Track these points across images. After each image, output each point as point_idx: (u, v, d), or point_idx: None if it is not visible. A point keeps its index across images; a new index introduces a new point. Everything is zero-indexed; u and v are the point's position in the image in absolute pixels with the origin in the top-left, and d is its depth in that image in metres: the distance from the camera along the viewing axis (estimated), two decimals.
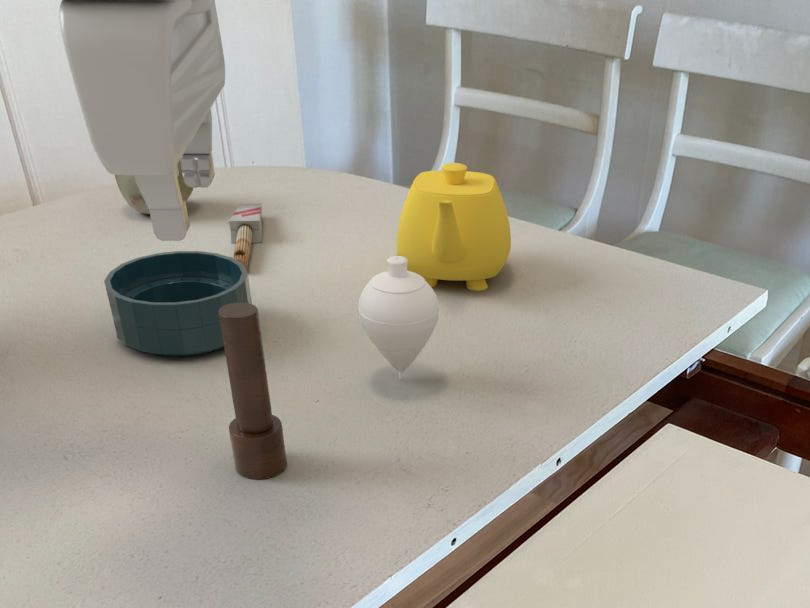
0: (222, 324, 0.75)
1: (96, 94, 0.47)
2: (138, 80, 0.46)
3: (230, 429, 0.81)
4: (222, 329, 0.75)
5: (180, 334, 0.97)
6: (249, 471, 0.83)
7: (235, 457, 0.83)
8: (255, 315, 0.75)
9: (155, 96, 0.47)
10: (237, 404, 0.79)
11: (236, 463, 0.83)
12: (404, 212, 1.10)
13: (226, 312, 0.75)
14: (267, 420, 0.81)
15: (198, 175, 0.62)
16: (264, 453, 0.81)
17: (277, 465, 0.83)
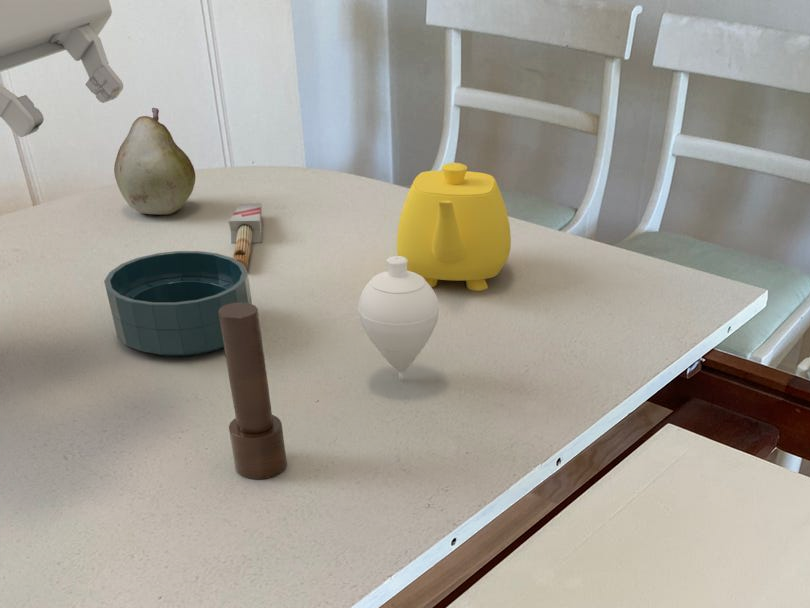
0: (222, 324, 0.75)
1: None
2: None
3: (230, 429, 0.81)
4: (222, 329, 0.75)
5: (180, 334, 0.97)
6: (249, 471, 0.83)
7: (235, 457, 0.83)
8: (255, 315, 0.75)
9: None
10: (237, 404, 0.79)
11: (236, 463, 0.83)
12: (404, 212, 1.10)
13: (226, 312, 0.75)
14: (267, 420, 0.81)
15: (102, 88, 0.73)
16: (264, 453, 0.81)
17: (277, 465, 0.83)
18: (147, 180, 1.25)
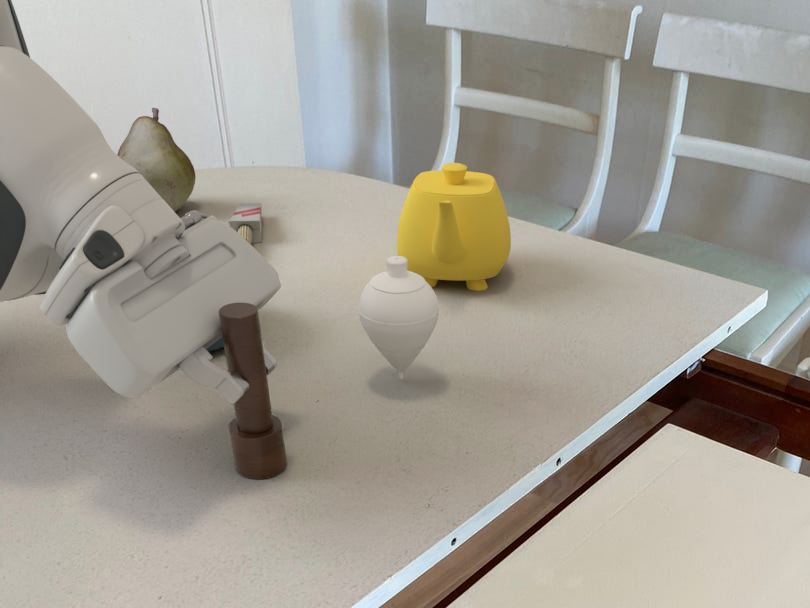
0: (222, 324, 0.75)
1: (94, 360, 0.71)
2: (101, 337, 0.69)
3: (230, 429, 0.81)
4: (222, 329, 0.75)
5: None
6: (249, 471, 0.83)
7: (235, 457, 0.83)
8: (255, 315, 0.75)
9: (111, 340, 0.69)
10: (237, 404, 0.79)
11: (236, 463, 0.83)
12: (404, 212, 1.10)
13: (226, 312, 0.75)
14: (267, 420, 0.81)
15: None
16: (264, 453, 0.81)
17: (277, 465, 0.83)
18: (147, 180, 1.25)
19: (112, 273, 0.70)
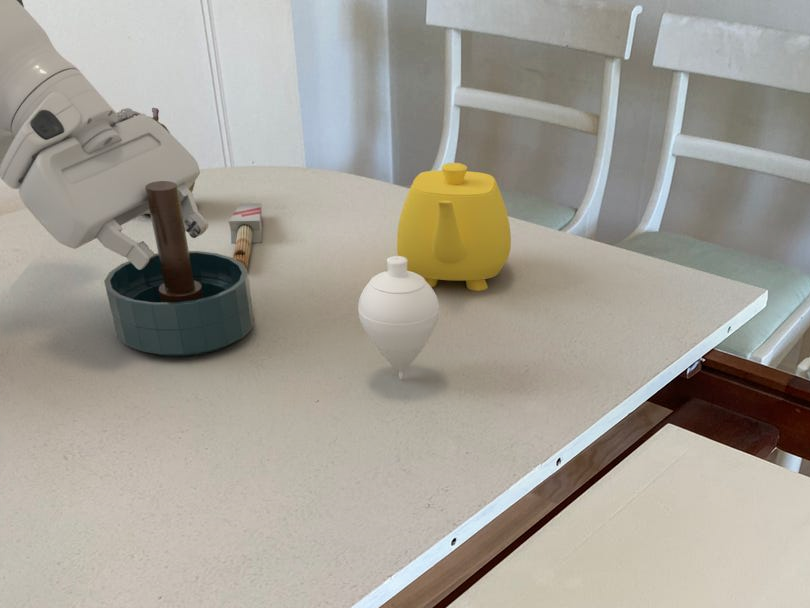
0: (148, 197, 0.94)
1: (40, 215, 0.89)
2: (45, 194, 0.88)
3: (159, 289, 1.00)
4: (148, 201, 0.95)
5: (180, 334, 0.97)
6: None
7: None
8: (174, 190, 0.94)
9: (53, 196, 0.87)
10: (163, 267, 0.98)
11: None
12: (404, 212, 1.10)
13: (151, 186, 0.94)
14: (189, 281, 1.00)
15: (194, 228, 1.00)
16: None
17: None
18: None
19: (54, 144, 0.88)
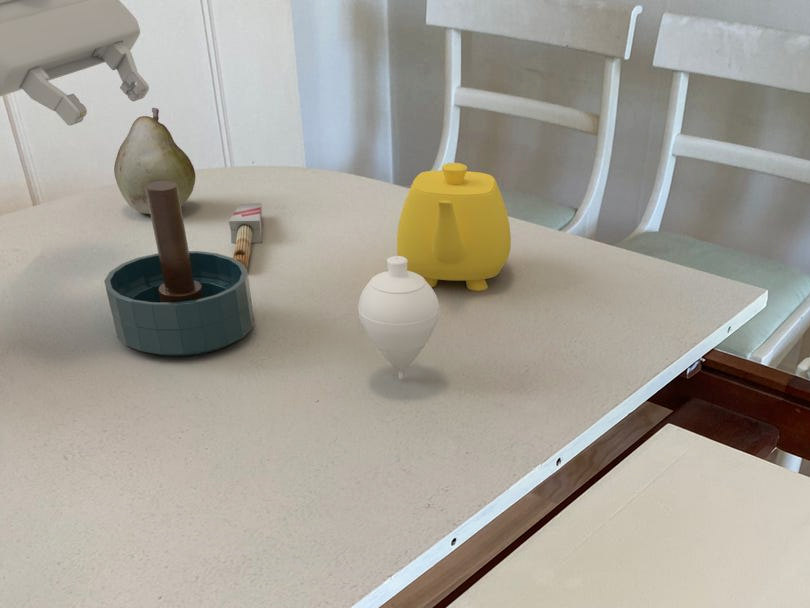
0: (148, 197, 0.94)
1: None
2: None
3: (159, 289, 1.00)
4: (148, 201, 0.95)
5: (180, 334, 0.97)
6: None
7: None
8: (174, 190, 0.94)
9: None
10: (163, 267, 0.98)
11: None
12: (404, 212, 1.10)
13: (151, 186, 0.94)
14: (189, 281, 1.00)
15: (133, 89, 0.93)
16: None
17: None
18: (147, 180, 1.25)
19: None
